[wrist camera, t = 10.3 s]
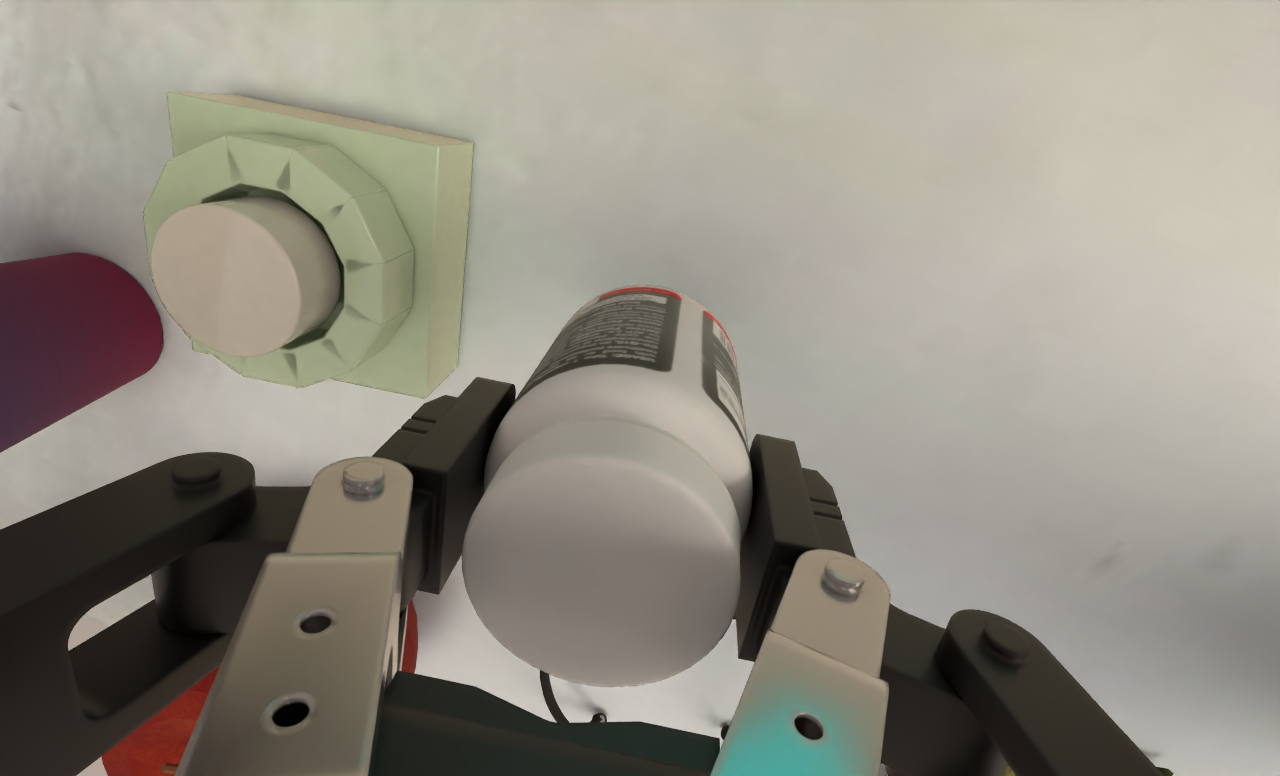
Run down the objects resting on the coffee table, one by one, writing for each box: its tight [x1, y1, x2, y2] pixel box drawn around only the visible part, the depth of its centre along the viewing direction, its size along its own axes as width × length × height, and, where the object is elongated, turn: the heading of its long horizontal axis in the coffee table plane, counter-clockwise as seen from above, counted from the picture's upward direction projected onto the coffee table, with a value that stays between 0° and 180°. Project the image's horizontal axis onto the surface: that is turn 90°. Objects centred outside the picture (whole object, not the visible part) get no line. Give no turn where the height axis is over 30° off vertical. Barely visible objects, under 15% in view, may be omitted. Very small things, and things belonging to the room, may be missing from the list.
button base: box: [143, 92, 474, 398], centre depth 20 cm, size 8×8×5 cm
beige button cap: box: [150, 195, 341, 357], centre depth 18 cm, size 4×4×2 cm
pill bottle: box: [462, 285, 753, 687], centre depth 13 cm, size 5×5×8 cm
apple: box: [102, 599, 418, 776], centre depth 24 cm, size 10×10×10 cm
